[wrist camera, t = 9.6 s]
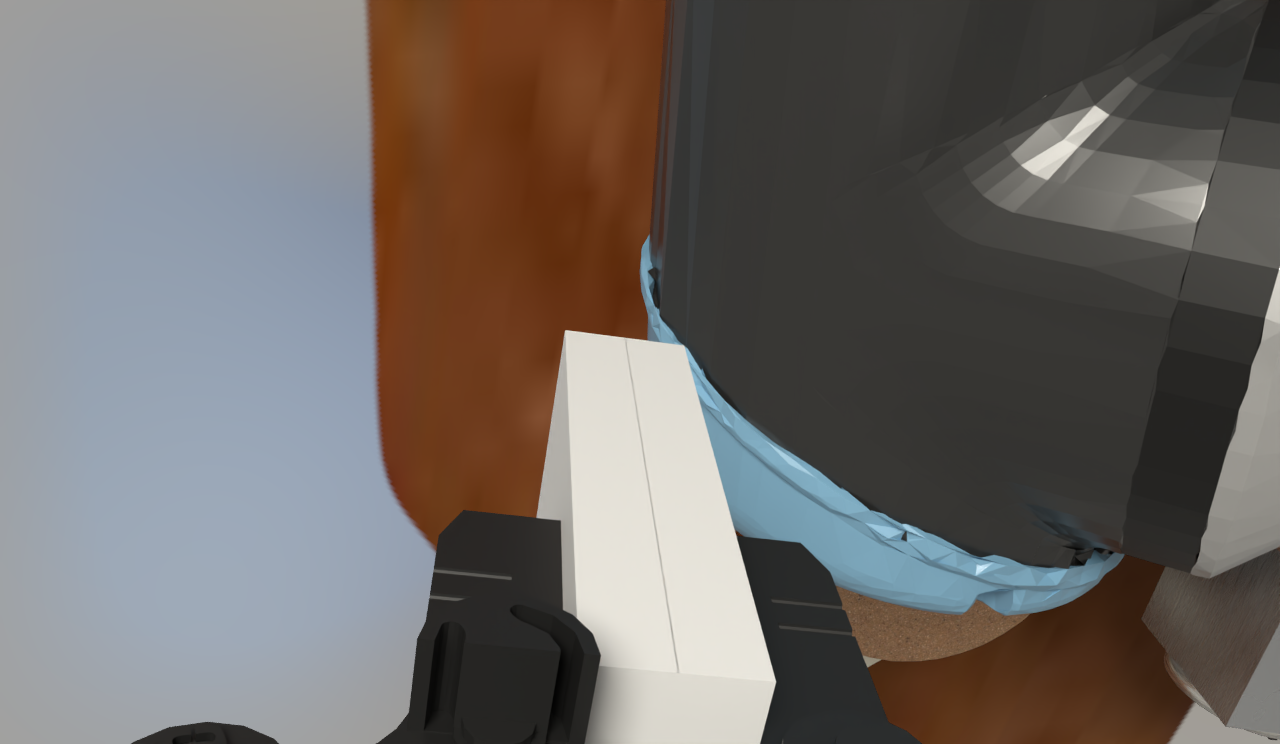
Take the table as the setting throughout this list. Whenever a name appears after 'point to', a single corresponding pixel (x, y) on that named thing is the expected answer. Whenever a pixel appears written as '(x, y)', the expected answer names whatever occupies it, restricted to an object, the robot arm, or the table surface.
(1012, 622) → the lidded jar
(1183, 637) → the dial indicator
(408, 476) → the table surface
